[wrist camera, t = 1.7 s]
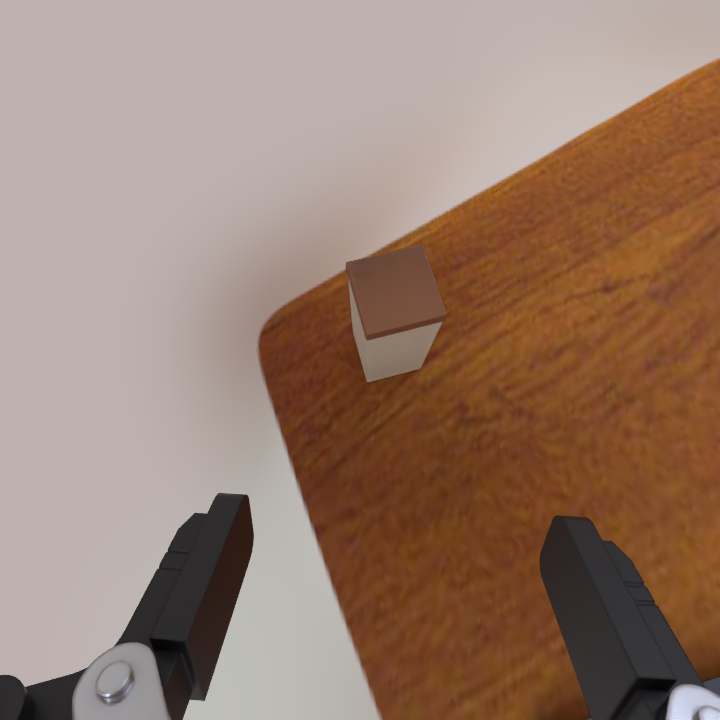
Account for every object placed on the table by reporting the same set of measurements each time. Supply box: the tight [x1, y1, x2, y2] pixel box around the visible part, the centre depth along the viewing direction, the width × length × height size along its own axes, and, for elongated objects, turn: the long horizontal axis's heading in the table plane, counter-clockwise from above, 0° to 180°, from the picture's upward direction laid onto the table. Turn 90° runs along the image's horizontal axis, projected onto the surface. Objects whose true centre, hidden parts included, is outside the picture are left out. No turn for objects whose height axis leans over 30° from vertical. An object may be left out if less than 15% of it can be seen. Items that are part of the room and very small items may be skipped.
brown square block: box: [346, 244, 447, 382], centre depth 23 cm, size 4×4×9 cm
